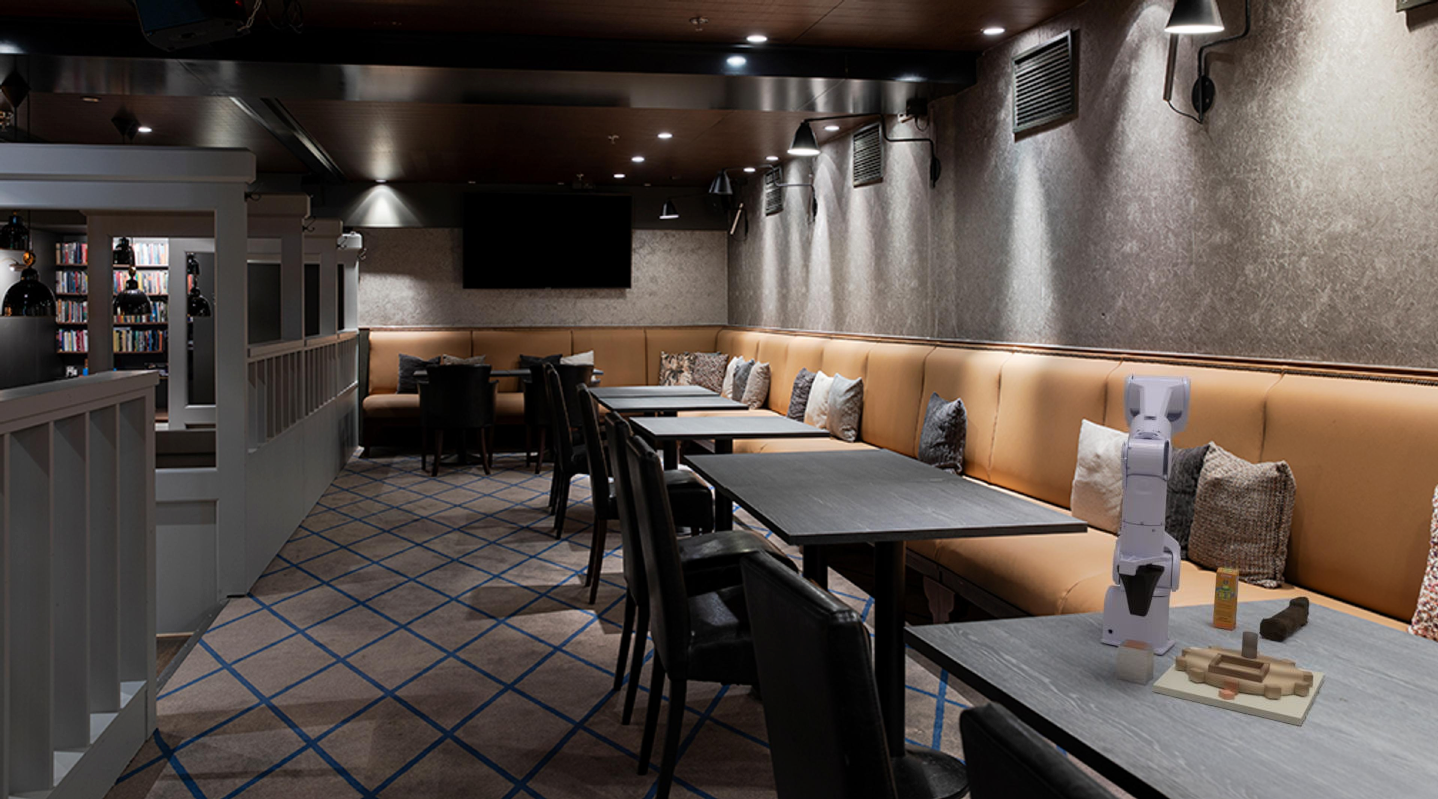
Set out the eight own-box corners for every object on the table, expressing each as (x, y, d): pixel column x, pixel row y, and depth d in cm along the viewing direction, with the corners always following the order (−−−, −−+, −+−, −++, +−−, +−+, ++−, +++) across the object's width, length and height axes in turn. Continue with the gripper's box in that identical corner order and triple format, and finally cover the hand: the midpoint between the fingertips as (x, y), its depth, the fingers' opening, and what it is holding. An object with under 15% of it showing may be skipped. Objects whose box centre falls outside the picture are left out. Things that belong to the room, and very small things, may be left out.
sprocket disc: (1191, 648, 152) (1193, 616, 152) (1318, 673, 142) (1320, 639, 141) (1163, 678, 138) (1165, 643, 138) (1302, 708, 128) (1304, 671, 127)
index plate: (1152, 691, 136) (1153, 679, 136) (1190, 652, 153) (1191, 641, 153) (1300, 726, 125) (1301, 712, 125) (1324, 679, 142) (1325, 667, 142)
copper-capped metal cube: (1116, 679, 141) (1118, 643, 141) (1124, 671, 144) (1126, 636, 144) (1145, 685, 139) (1147, 649, 138) (1153, 678, 142) (1154, 642, 141)
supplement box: (1211, 627, 167) (1214, 570, 166) (1215, 622, 170) (1218, 566, 169) (1233, 631, 165) (1236, 573, 164) (1236, 626, 168) (1240, 569, 167)
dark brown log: (1284, 645, 159) (1286, 617, 159) (1258, 639, 162) (1259, 611, 162) (1322, 624, 171) (1324, 598, 171) (1297, 618, 174) (1299, 593, 174)
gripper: (1159, 533, 132) (1154, 631, 133) (1185, 518, 143) (1180, 609, 144) (1105, 526, 136) (1101, 621, 137) (1135, 512, 147) (1130, 600, 148)
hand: (1138, 614), depth 141 cm, fingers closed
